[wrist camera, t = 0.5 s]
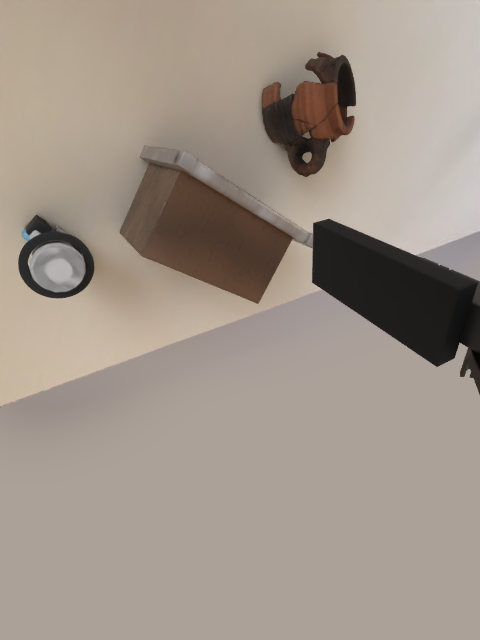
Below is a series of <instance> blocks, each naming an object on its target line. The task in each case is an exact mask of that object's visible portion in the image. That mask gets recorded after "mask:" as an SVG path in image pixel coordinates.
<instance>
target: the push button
mask: <svg viewBox="0 0 480 640" xmlns="http://www.w3.org/2000/svg"><path fill="white" fill-rule="evenodd" d="M56 228H57V229H56V230H53V229H51V228H50V227H49V225H48V224H47V222H46V221H45V220H43V219H42V218H41V217H39V216H38V215H36V216H35V217H34V218H33V219H32V221H31V222H30V223H29V224H28V225H27V227H26V228H25V229H24V230H23V231H22V237H23V238H24V239H26V240H27V241H28V242H27V243H26V244H25V245H24V247H23V248H22V250H21V252H20V255H19V263H18V265H19V272H20V275H21V277H22V279H23V280H24V282H25V283H26V284H27V285H28V286H29V287H30V288H31V289H32V290H33V291H35V292H36V293H38V294H40V295H43V296H46V297H50V298H66V297H70V296H73V295H76V294H78V293H79V292H81V291H82V290H83V289H85V288H86V287H87V285H88V284H89V283H90V281H91V279H92V277H93V273H94V261H93V257H92V255H91V253H90V251H89V249H88V248H87V247H86V245H85V244H84V243H83V242H82V241H80V240H79V239H77V238H76V237H74V236H72V235H69V234H67V233H66V232H65V231H63V230H62V229H61V228H59V227H58V226H56ZM32 251H33V252H32ZM31 252H32V257H31V259H30V266H28V258H29V256H30V254H31ZM81 253H82V254H83V257H84V258H83V257H82V256H81V255H82V254H81Z"/></svg>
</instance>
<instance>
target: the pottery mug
mask: <svg viewBox="0 0 480 640" xmlns="http://www.w3.org/2000/svg"><path fill="white" fill-rule="evenodd" d="M317 56H318V57H319V58H317V59H310V60H309V61H308V63H307V64H306V66H305V68H306V69H307V70H310V71H313V72H314V73H315V74H316V75H317V77H318V78H319V80H320V81H321V83H322V84H320V83H314V82H308V81H304V82H303V83H301V84H299V86H297V88H296V91H295V94H291V95H290V96H288V97H286V98H284V99H282V100H280V87H281V84H280V83H279V82H275V83H273V84H272V85H270V86H268V87H266V88H265V89H264V90H263V94H262V109H263V110H262V113H263V122H264V124H265V129H266V132H267V134H268V136H269V137H270V139H271V140H272V142H274V143H280V144H284V145H286V147H285V150H286V151H287V153H288V157H289V161H290V164H291V166H292V168H293V169H294V170H295V171H296V172H297V173H298V174H299V175H303V176H305V177H307V176H309V175H311V174H315V173H317V172H318V171H319V170H320V169H321V168H322V166H323V164H324V162H325V158H326V152H327V148H328V147H329V145H330V141H329V140H330V139H331V142H334V141H336V140H337V139H338V138H339V136H341V135H348V134H349V133H350V132H351V130H352V128H353V125H354V116H349V117H347V106H355V105H356V92H355V83H354V77H353V73H352V70H351V66H350V64H349V61H348V59H347V58H346V57H345V56H344V55H341V56H340V57H337V58H333V57H331V56H330V55H327V54H325V53H320V52H318V53H317ZM308 131H309V134H310V136H311V138H309V139H307V138H305V137H302V135H304V134H305V133H307V132H308ZM306 152H311V153H312V159H311V161H310V162H309V163H306V162H305V161H304V160H303V159H302V156H303V154H304V153H306Z"/></svg>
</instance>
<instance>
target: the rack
mask: <svg viewBox="0 0 480 640" xmlns="http://www.w3.org/2000/svg"><path fill="white" fill-rule="evenodd" d="M140 157H141V158H142V159H144V160H146V161H147V162H149V166H148V168H147V170H146V173H145V175H144V177H143V179H142V182H141V184H140V186H139V189H138V191H137V193H136V196H135V198H134V200H133V203H132V205H131V207H130V209H129V212H128V214H127V216H126V219H125V221H124V223H123V226H122V228H121V230H120V234H121V235H122V236H123V237H124V238H125V239H126V240H127V241H128V242H129V243H130V244H131V245H132V246H133V247H134V248H135V249H136V250H137V252H138V253H139V254H140V255H141V256H143V257H146V258H148V259H150V260H153V261H155V262H158V263H160V264H163V265H165V266H167V267H170V268H172V269H175V270H177V271H180V272H182V273H185V274H187V275H189V276H192V277H194V278H197V279H199V280H202V281H204V282H206V283H209V284H211V285H214V286H216V287H219V288H221V289H223V290H226V291H228V292H231V293H233V294H236V295H238V296H240V297H243V298H245V299H248V300H250V301H253V302H255V303H259V301H260V299H261V298H262V296H263V294H264V292H265V290H266V288H267V286H268V284H269V282H270V281H271V279H272V277H273V275H274V273H275V271H276V269H277V267H278V265H279V264H280V262H281V260H282V258H283V256H284V254H285V252H286V250H287V248H288V247H289V245H290V243H291V241H292V240H293V241H296V242H298V243H301V244H303V245H306V246H308V247H311V248H313V234H312V233H309V232H307V231H305V230H304V229H302V228H301V227H299V226H298V225H296V224H294V223H293V222H291V221H290V220H288V219H287V218H285V217H284V216H282V215H281V214H279V213H277V212H276V211H274V210H273V209H271V208H270V207H268V206H267V205H265V204H264V203H262V202H260V201H259V200H257V199H256V198H254V197H253V196H251V195H250V194H248V193H247V192H245V191H244V190H242V189H240V188H239V187H237V186H236V185H234V184H233V183H231V182H230V181H228V180H227V179H225V178H223V177H222V176H220V175H219V174H217V173H216V172H214V171H213V170H211V169H210V168H208V167H206V166H205V165H203V164H202V163H200V162H199V161H197V160H198V159H197V158H196V157H194V156H193V155H191V154H190V153H188V152H187V151H183V150H175V149H167V148H159V147H151V146H144V148H143V150H142V153H141V155H140Z"/></svg>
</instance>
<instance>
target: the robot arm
mask: <svg viewBox="0 0 480 640" xmlns="http://www.w3.org/2000/svg"><path fill="white" fill-rule="evenodd" d="M312 283H314V284H315V285H317V286H318V287H320V288H321V289H323V290H324V291H326V292H327V293H329V294H330V295H332V296H333V297H335V298H336V299H337V300H339V301H341V302H342V303H343V304H345V305H346V306H348V307H349V308H351V309H352V310H354V311H355V312H357V313H358V314H360V315H361V316H363V317H364V318H366V319H367V320H369V321H370V322H371V323H373V324H374V325H376V326H377V327H379V328H380V329H382V330H383V331H385V332H386V333H388V334H389V335H391V336H392V337H394V338H395V339H397V340H398V341H399V342H401V343H402V344H404V345H406V346H407V347H408V348H410V349H411V350H413V351H414V352H416V353H417V354H419V355H420V356H422V357H423V358H425V359H426V360H428V361H429V362H430V363H432V364H434V365H435V366H437V367H438V366H440V365H442V364H444V363H446V362H448V361H450V360H452V359H454V358H455V355H456V351H457V349H458V345H459V342H460V343H462V344H463V345H465V346H467V347H468V350H467V353H466V356H465V359H464V362H463V365H462V368H461V371H460V377H464V376H465V373H466V371H467V370H468V369H470V370H471V374H470V377H471V378H474V380H475V383H476V386H477V388H478V391H479V394H480V281H478V280H475V279H473V278H470V277H468V276H466V275H463V274H461V273H459V272H456V271H454V270H449V268H447V267H444V266H442V265H440V266H439V265H438V264H437V263H435V262H432V261H430V260H428V259H425V258H421V257H418V256H415V255H413V254H411V253H408V252H406V251H404V250H401V249H399V248H396V247H394V246H392V245H389V244H387V243H385V242H382V241H380V240H378V239H375V238H373V237H370V236H368V235H366V234H363V233H361V232H359V231H356V230H354V229H352V228H349V227H347V226H344V225H342V224H340V223H337V222H335V221H333V220H330V219H326V220H323V221H319V222H316V223H313V268H312Z"/></svg>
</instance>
